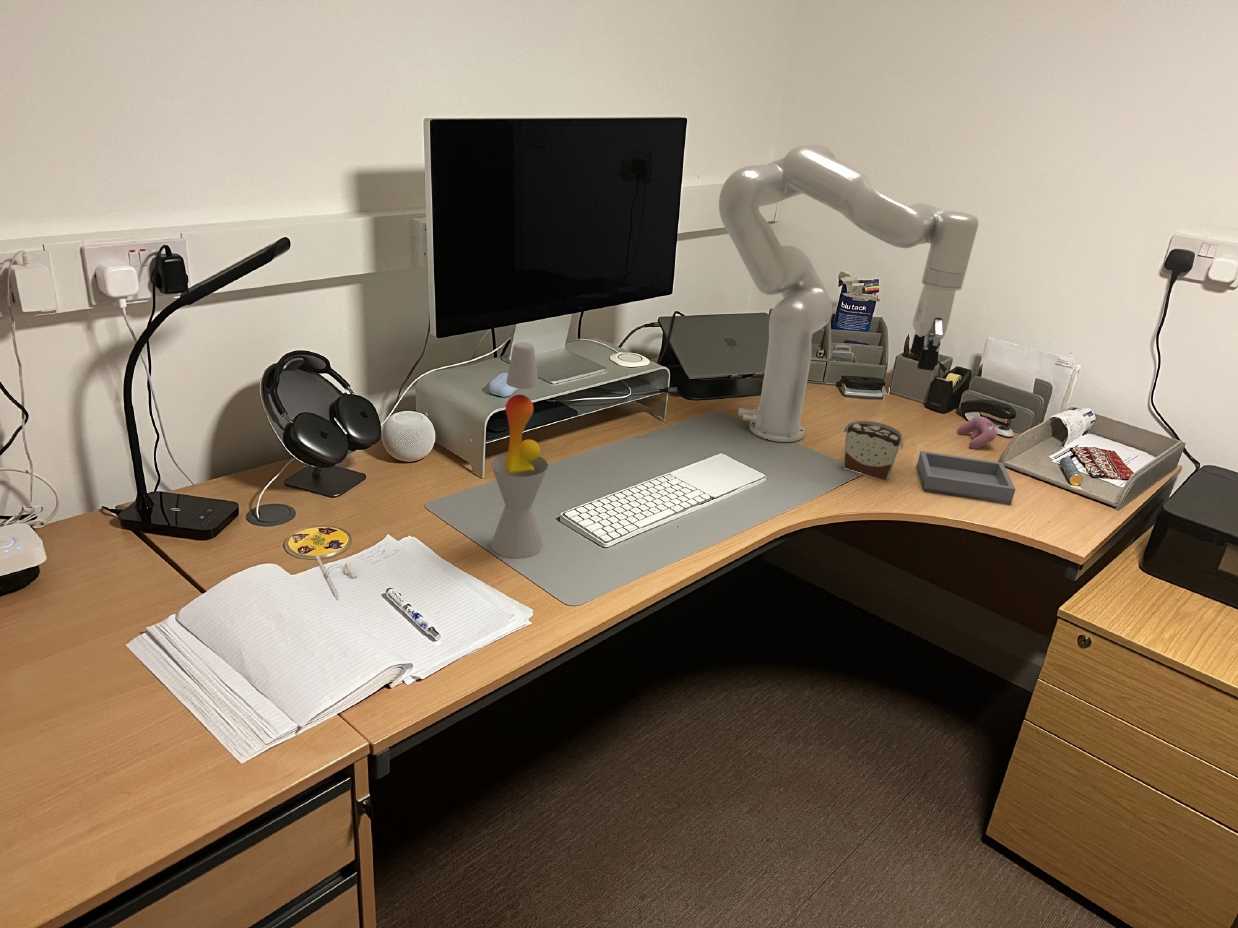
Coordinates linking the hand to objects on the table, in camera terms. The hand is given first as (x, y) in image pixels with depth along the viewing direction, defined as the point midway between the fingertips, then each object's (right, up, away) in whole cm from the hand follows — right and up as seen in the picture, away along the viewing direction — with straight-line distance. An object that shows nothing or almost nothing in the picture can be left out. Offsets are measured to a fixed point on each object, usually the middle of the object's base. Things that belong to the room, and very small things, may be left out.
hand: (921, 361), depth 178 cm
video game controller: (+22, -16, +27) cm, 38 cm away
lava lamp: (-78, -34, -30) cm, 91 cm away
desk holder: (+10, -25, +5) cm, 27 cm away
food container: (-8, -22, +8) cm, 25 cm away
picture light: (-104, -38, -42) cm, 119 cm away
